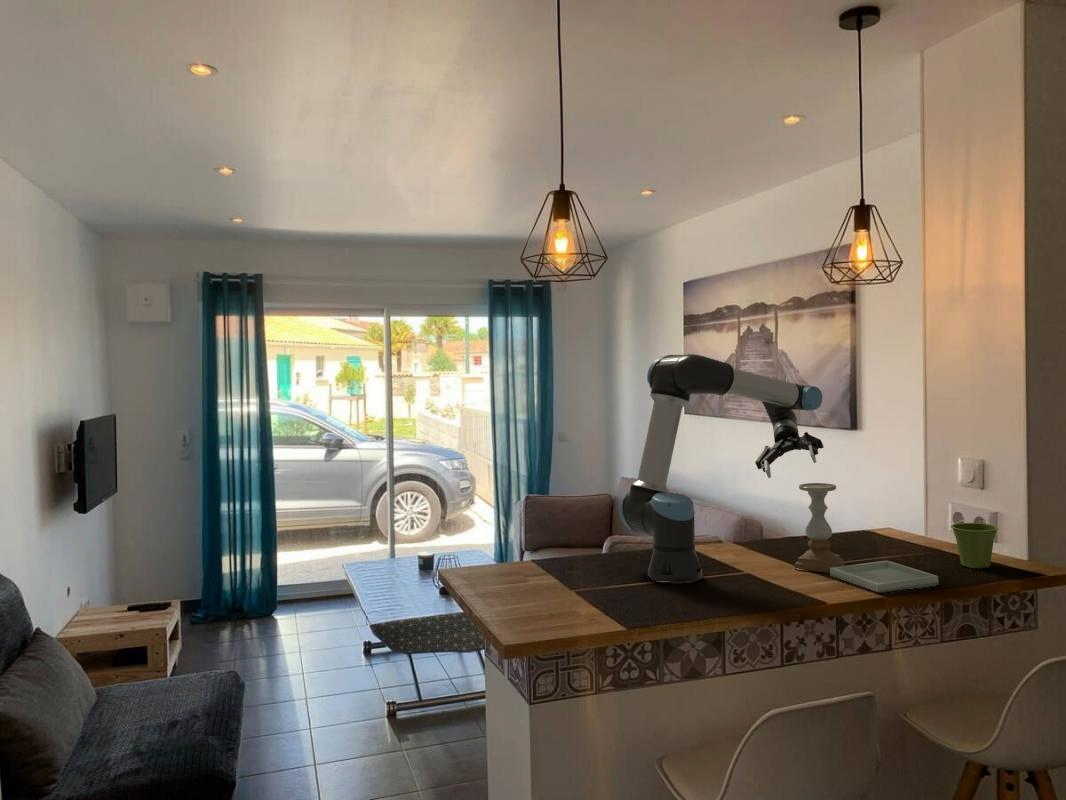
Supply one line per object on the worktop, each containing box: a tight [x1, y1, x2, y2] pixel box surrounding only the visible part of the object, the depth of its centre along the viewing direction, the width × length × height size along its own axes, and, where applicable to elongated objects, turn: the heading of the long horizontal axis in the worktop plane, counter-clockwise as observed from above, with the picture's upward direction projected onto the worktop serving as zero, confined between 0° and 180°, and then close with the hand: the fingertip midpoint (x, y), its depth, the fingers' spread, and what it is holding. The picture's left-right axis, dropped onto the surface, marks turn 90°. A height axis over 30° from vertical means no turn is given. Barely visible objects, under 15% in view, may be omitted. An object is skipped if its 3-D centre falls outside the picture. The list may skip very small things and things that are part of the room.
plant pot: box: [950, 522, 999, 570], centre depth 234 cm, size 12×12×11 cm
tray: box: [829, 560, 939, 592], centre depth 223 cm, size 19×19×2 cm
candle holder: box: [794, 482, 845, 573], centre depth 239 cm, size 11×11×24 cm
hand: (790, 466), depth 242 cm, fingers open, 13 cm apart
